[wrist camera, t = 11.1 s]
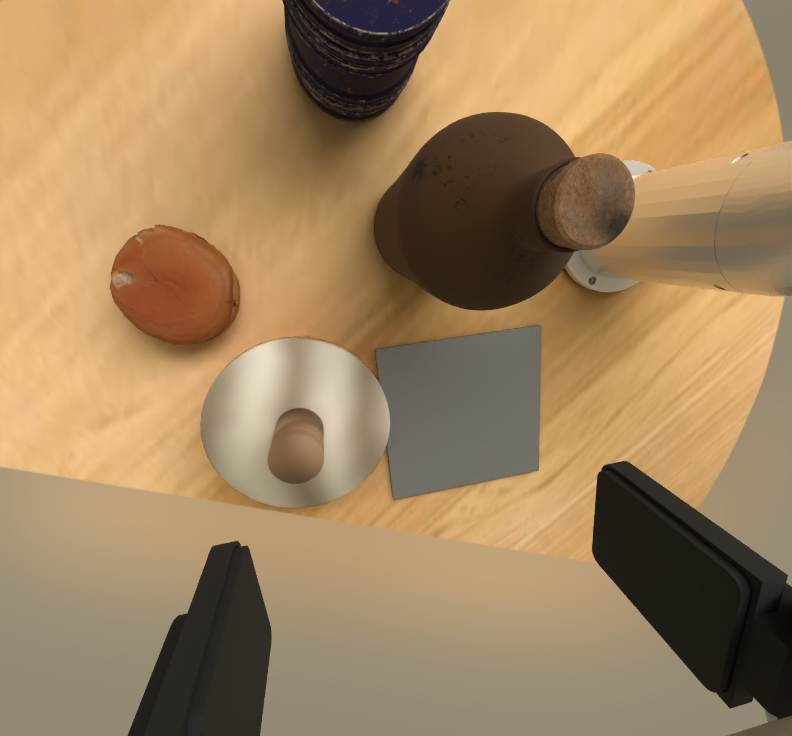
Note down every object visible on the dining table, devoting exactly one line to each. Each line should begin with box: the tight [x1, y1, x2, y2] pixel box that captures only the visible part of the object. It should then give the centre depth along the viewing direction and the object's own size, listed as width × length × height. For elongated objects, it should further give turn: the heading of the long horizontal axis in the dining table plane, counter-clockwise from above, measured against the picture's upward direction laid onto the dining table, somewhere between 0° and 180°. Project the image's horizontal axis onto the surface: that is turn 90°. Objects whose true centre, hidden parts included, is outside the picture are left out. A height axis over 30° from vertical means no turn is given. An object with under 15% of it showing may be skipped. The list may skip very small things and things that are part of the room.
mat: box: [375, 325, 541, 500], centre depth 44 cm, size 18×18×1 cm
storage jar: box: [282, 0, 450, 122], centre depth 25 cm, size 10×10×15 cm
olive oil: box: [374, 112, 635, 310], centre depth 25 cm, size 11×11×25 cm
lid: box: [201, 337, 390, 508], centre depth 31 cm, size 16×16×6 cm
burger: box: [110, 225, 240, 344], centre depth 33 cm, size 10×9×5 cm
